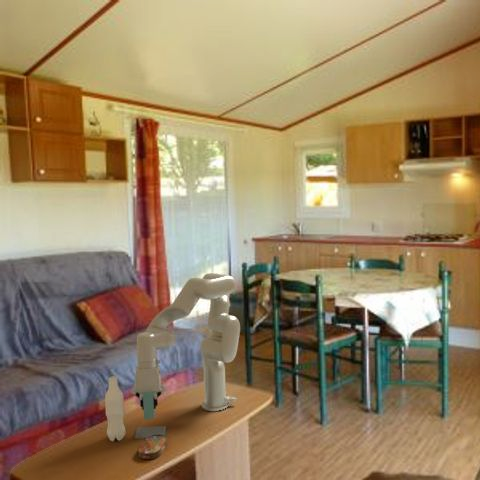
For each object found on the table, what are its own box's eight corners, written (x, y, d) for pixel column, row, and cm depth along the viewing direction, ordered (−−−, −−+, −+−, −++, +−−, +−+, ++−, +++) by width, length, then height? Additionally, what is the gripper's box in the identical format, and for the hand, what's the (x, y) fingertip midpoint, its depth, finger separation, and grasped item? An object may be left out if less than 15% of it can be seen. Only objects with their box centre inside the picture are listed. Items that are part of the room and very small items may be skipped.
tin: (149, 433, 208) (169, 433, 206) (150, 441, 208) (170, 441, 206) (134, 452, 193) (156, 452, 191) (135, 460, 193) (157, 460, 191)
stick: (154, 418, 211) (152, 384, 210) (144, 419, 211) (142, 384, 209) (154, 414, 215) (153, 380, 214) (144, 414, 215) (143, 381, 213)
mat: (166, 427, 219) (166, 425, 219) (165, 437, 210) (165, 435, 210) (137, 429, 218) (137, 427, 218) (134, 439, 209) (134, 438, 209)
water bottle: (119, 432, 215) (116, 373, 213) (129, 438, 210) (125, 377, 208) (103, 438, 210) (100, 377, 208) (113, 444, 205) (109, 382, 203)
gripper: (168, 359, 215) (170, 403, 217) (127, 361, 214) (129, 405, 216) (167, 365, 208) (169, 410, 210) (124, 367, 207) (126, 413, 208)
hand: (149, 407), depth 213 cm, fingers closed on stick, 4 cm apart
